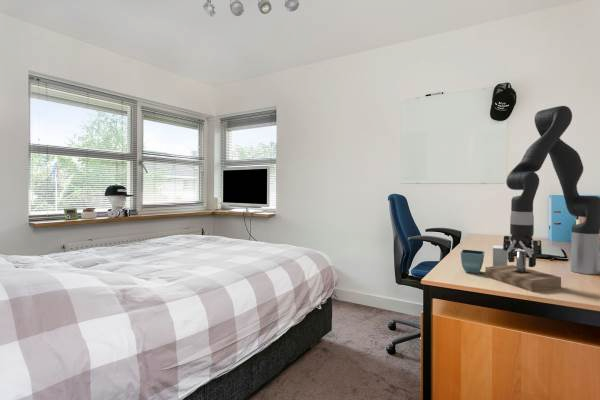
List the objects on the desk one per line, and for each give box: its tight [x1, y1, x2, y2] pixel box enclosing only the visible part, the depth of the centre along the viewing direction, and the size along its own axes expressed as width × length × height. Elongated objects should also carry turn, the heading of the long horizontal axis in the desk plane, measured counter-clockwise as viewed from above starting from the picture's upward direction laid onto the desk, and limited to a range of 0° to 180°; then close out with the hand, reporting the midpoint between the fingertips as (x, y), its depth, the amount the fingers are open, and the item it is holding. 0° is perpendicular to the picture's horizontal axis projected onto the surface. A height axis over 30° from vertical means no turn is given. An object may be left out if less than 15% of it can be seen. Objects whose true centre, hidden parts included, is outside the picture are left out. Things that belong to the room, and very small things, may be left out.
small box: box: [492, 245, 508, 267], centre depth 144 cm, size 8×6×10 cm
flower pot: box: [460, 248, 485, 274], centre depth 141 cm, size 9×9×9 cm
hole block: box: [484, 264, 562, 292], centre depth 125 cm, size 20×14×4 cm
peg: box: [515, 250, 527, 274], centre depth 125 cm, size 3×3×12 cm
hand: (521, 264), depth 125 cm, fingers open, 8 cm apart
